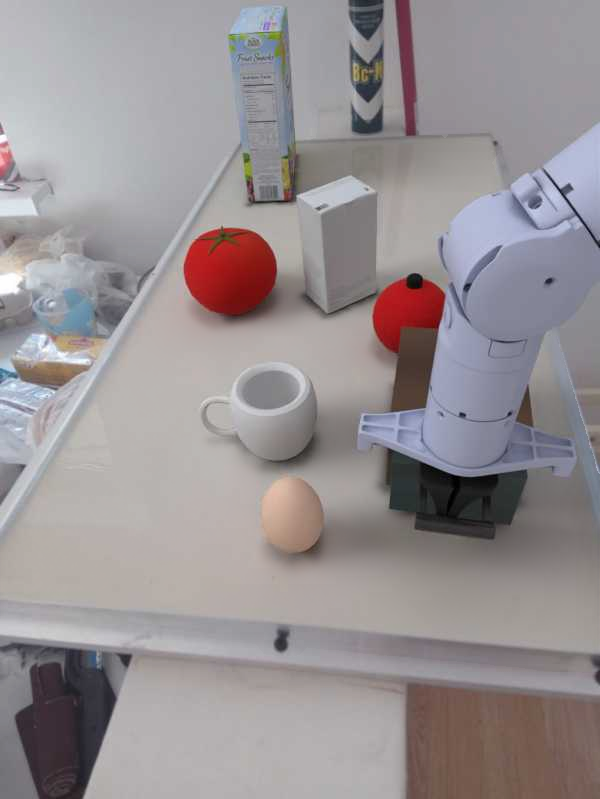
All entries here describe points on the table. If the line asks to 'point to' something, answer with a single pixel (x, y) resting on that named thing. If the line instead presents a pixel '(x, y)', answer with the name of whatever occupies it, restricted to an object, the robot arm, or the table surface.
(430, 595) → the table surface
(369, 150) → the table surface
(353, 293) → the cosmetic box
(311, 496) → the egg
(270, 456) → the mug
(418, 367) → the cabinet
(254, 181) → the snack box
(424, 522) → the drawer
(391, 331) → the ornament
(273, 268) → the tomato
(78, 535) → the table surface
